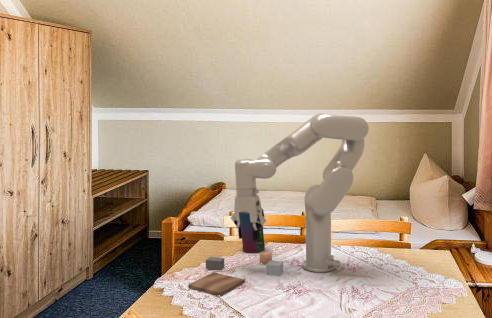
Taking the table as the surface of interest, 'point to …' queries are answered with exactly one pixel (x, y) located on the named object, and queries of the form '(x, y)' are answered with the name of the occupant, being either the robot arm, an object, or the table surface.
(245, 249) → the cup
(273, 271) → the slate block
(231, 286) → the walnut board
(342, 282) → the table surface
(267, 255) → the terracotta ball
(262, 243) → the coffee jar
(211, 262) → the taupe block
